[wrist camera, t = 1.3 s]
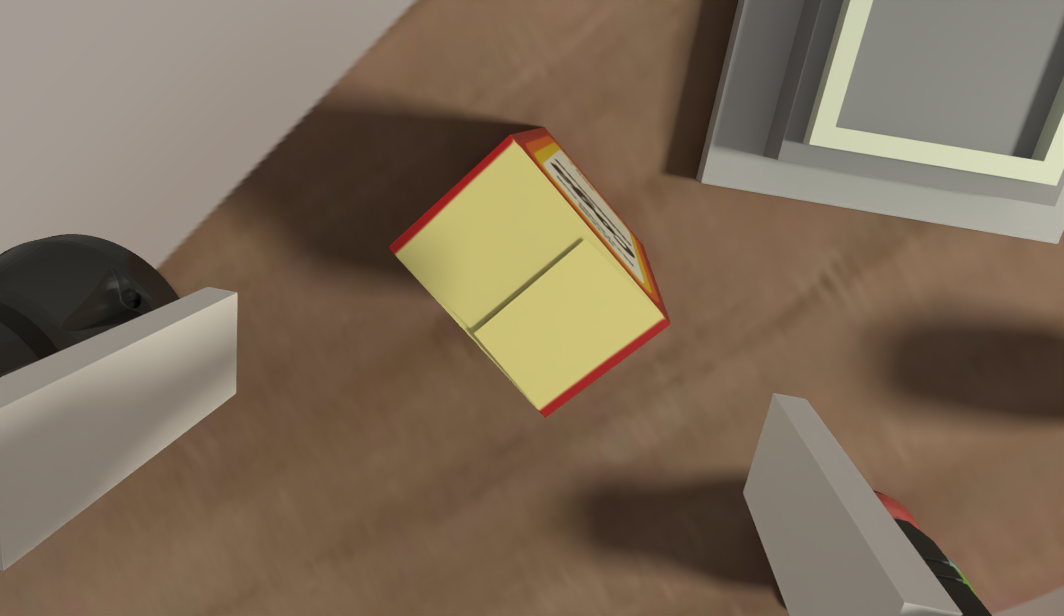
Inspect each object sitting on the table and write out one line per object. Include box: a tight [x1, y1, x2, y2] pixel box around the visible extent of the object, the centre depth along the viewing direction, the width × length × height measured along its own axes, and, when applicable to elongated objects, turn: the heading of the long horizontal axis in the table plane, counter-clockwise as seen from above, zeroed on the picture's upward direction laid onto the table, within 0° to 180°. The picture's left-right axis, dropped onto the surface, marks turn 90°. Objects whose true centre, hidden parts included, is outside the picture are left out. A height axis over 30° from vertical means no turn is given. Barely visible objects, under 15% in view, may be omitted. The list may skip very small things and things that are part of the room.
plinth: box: [696, 0, 1064, 244], centre depth 31 cm, size 20×20×6 cm
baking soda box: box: [388, 127, 671, 418], centre depth 32 cm, size 10×6×16 cm
